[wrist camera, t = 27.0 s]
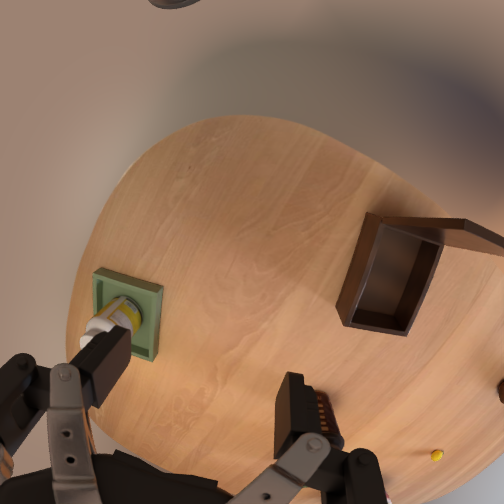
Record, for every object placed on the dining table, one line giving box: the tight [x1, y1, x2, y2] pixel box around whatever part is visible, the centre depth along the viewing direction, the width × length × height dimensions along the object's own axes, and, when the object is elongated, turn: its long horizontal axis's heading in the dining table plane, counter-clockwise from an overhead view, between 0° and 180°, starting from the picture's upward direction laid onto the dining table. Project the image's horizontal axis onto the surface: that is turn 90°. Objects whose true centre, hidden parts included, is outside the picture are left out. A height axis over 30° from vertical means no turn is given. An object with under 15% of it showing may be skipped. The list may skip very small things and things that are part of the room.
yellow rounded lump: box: [431, 450, 444, 461], centre depth 51 cm, size 3×6×4 cm, turn 66°
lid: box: [382, 217, 504, 257], centre depth 23 cm, size 16×11×1 cm
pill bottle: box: [80, 296, 143, 350], centre depth 38 cm, size 6×6×12 cm
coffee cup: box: [315, 391, 344, 450], centre depth 41 cm, size 9×8×13 cm
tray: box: [93, 268, 163, 362], centre depth 43 cm, size 14×12×3 cm
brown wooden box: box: [335, 212, 444, 337], centre depth 36 cm, size 15×11×6 cm
